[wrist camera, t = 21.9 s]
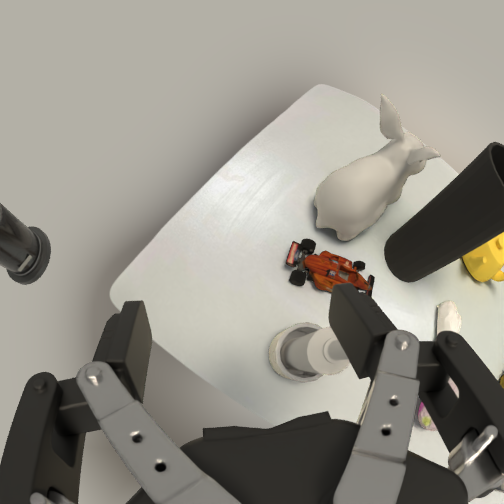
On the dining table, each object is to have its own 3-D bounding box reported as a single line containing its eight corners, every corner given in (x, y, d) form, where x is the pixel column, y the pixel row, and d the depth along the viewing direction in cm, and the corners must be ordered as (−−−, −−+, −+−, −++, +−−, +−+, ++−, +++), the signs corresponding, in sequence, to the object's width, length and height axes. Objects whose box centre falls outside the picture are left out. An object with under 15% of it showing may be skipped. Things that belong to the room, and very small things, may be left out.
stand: (271, 382, 43) (279, 386, 37) (265, 331, 46) (272, 326, 39) (322, 374, 44) (337, 375, 38) (315, 325, 47) (329, 319, 40)
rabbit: (402, 209, 57) (473, 136, 33) (332, 256, 51) (405, 178, 28) (369, 167, 59) (424, 84, 36) (295, 205, 54) (338, 104, 31)
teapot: (454, 276, 52) (484, 261, 43) (455, 223, 57) (481, 203, 48) (491, 293, 52) (520, 282, 43) (491, 243, 57) (517, 227, 47)
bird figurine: (447, 350, 48) (454, 301, 49) (463, 356, 41) (471, 301, 43) (427, 350, 49) (435, 299, 50) (442, 355, 42) (451, 299, 43)
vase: (433, 263, 53) (541, 193, 25) (406, 292, 50) (529, 227, 22) (404, 224, 55) (499, 133, 27) (374, 249, 53) (479, 154, 25)
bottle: (315, 345, 45) (402, 327, 22) (303, 375, 43) (382, 386, 20) (286, 333, 46) (350, 303, 22) (273, 363, 44) (326, 365, 20)
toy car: (366, 311, 48) (378, 306, 44) (278, 279, 49) (283, 271, 45) (375, 270, 51) (386, 263, 47) (291, 238, 52) (297, 227, 48)
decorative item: (479, 388, 40) (483, 404, 32) (438, 426, 43) (434, 447, 35) (452, 359, 45) (453, 370, 37) (412, 398, 48) (405, 415, 40)
